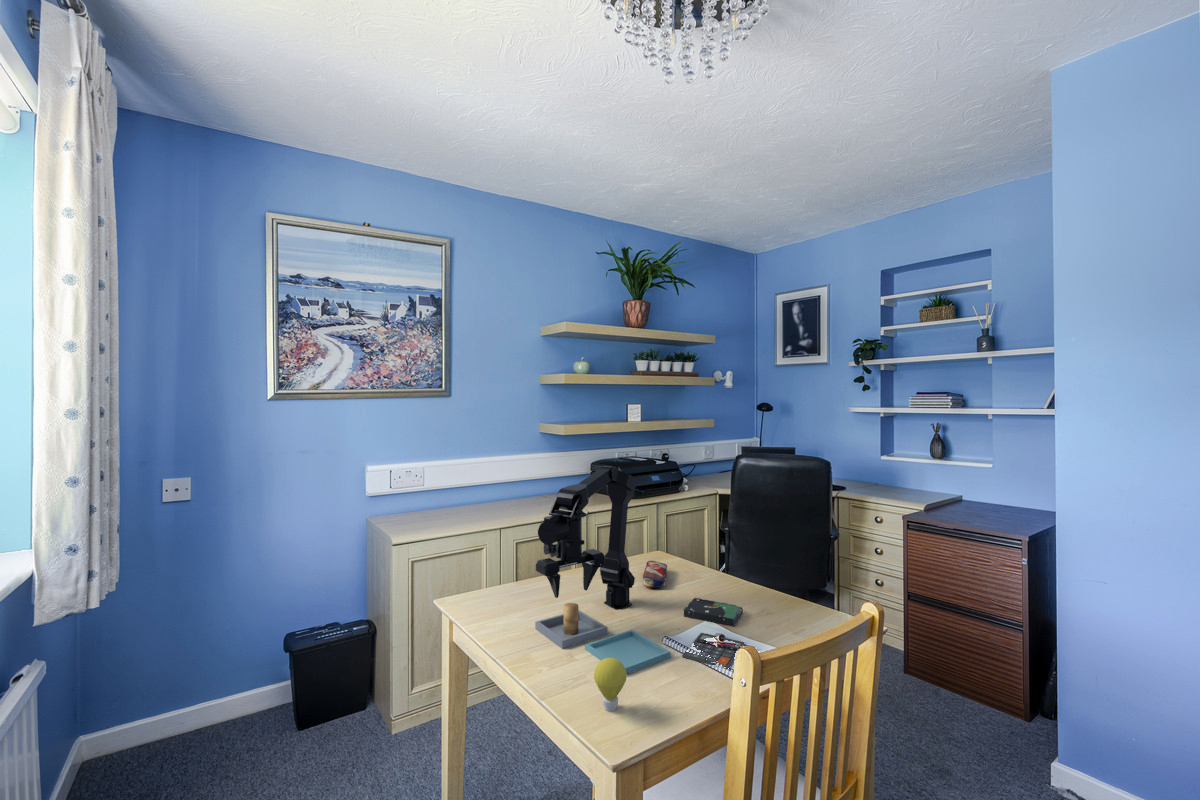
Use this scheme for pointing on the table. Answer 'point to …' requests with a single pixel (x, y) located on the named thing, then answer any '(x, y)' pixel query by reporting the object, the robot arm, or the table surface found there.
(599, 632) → the shallow gray bin
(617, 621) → the table surface
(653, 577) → the pencil case
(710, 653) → the calculator
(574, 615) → the wooden peg
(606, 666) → the light bulb
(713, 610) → the disk drive
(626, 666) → the tray
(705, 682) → the table surface
